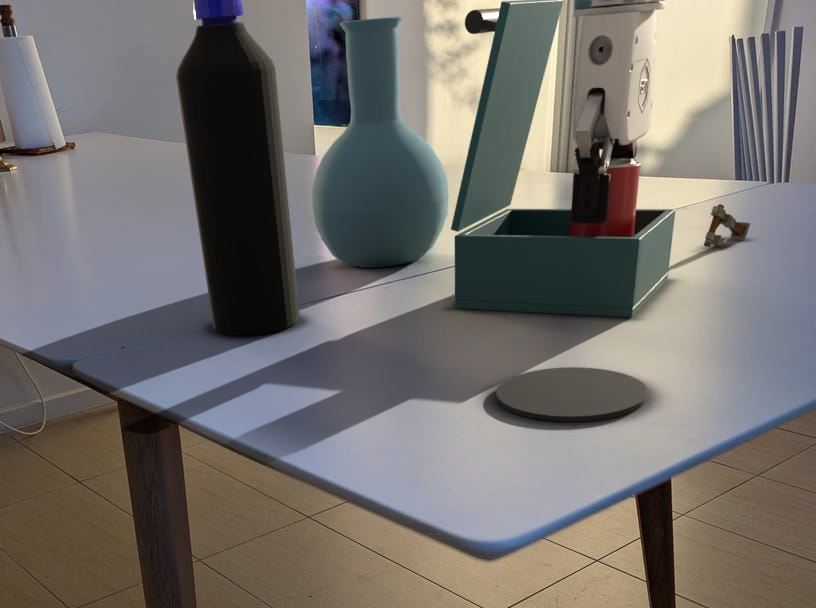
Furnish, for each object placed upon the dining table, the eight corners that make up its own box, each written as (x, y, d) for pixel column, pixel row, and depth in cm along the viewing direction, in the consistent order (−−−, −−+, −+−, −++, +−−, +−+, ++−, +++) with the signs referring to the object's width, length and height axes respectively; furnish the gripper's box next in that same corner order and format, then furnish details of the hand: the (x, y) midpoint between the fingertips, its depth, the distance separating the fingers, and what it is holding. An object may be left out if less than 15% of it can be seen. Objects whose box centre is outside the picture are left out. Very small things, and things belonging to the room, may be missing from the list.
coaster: (677, 389, 68) (677, 384, 67) (586, 433, 62) (587, 428, 62) (556, 363, 75) (556, 358, 75) (465, 401, 69) (465, 395, 69)
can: (641, 284, 91) (653, 158, 85) (604, 297, 88) (615, 168, 82) (590, 277, 95) (599, 156, 89) (554, 290, 92) (560, 165, 86)
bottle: (289, 308, 97) (256, -13, 82) (308, 328, 90) (276, -21, 75) (207, 320, 96) (158, -5, 80) (220, 341, 89) (169, -12, 73)
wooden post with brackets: (695, 242, 104) (709, 200, 103) (723, 260, 110) (736, 220, 108) (710, 244, 103) (724, 201, 101) (737, 261, 108) (751, 221, 107)
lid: (563, 0, 86) (511, -13, 88) (510, 3, 76) (451, -11, 78) (510, 205, 98) (465, 191, 100) (457, 232, 88) (408, 216, 89)
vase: (466, 263, 109) (467, 9, 95) (331, 280, 107) (311, 23, 93) (425, 239, 123) (420, 15, 109) (305, 255, 120) (284, 27, 106)
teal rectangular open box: (667, 280, 95) (675, 209, 91) (631, 317, 84) (639, 238, 80) (505, 274, 102) (506, 208, 99) (454, 308, 92) (454, 235, 88)
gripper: (639, -11, 70) (617, 232, 80) (686, -13, 83) (663, 198, 92) (544, -1, 74) (534, 231, 83) (603, -5, 86) (589, 198, 95)
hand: (602, 213), depth 88 cm, fingers open, 8 cm apart
